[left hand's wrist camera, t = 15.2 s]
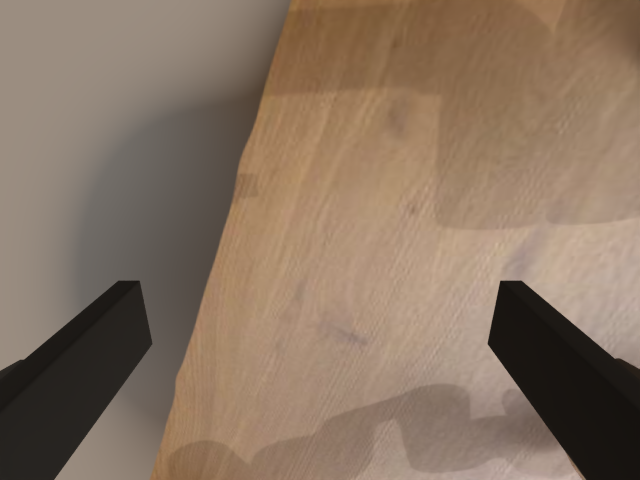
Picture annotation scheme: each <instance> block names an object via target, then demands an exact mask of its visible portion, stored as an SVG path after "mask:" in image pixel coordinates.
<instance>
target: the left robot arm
mask: <svg viewBox="0 0 640 480" xmlns="http://www.w3.org/2000/svg"><path fill="white" fill-rule="evenodd" d="M151 345H152V339H151V335H150V330H149V325H148V320H147V315H146V310H145V305H144V300H143V295H142V290H141V285H140V281H118V282H116V283H115V284H114V285H113V286H112V287H110V288H109V289H108V290H107V291H106V292H105V293H103V294H102V295H101V296H100V297H99V298H97V299H96V300H95V301H94V302H93V303H91V304H90V305H89V306H88V307H87V308H85V309H84V310H83V311H82V312H81V313H79V314H78V315H77V316H76V317H75V318H73V319H72V320H71V321H70V322H69V323H67V324H66V325H65V326H64V327H63V328H61V329H60V330H59V331H58V332H57V333H55V334H54V335H53V336H52V337H51V338H50V339H48V340H47V341H46V342H45V343H44V344H42V345H41V346H40V347H39V348H38V349H36V350H35V351H34V352H33V353H32V354H30V355H29V356H28V357H27V358H26V359H24V360H19V361H17V362H15V363H14V364H12V365H10V366H8V367H6V368H5V369H3V370H1V371H0V480H54V479H55V478H56V476H57V475H58V474H59V472H60V471H61V470H62V468H63V467H64V465H65V464H66V463H67V461H68V460H69V458H70V457H71V456H72V454H73V453H74V452H75V450H76V449H77V447H78V446H79V445H80V443H81V442H82V440H83V439H84V438H85V436H86V435H87V434H88V432H89V431H90V429H91V428H92V427H93V425H94V424H95V423H96V421H97V420H98V418H99V417H100V416H101V414H102V413H103V411H104V410H105V409H106V407H107V406H108V405H109V403H110V402H111V400H112V399H113V398H114V396H115V395H116V393H117V392H118V391H119V389H120V388H121V387H122V385H123V384H124V382H125V381H126V380H127V378H128V377H129V376H130V374H131V373H132V371H133V370H134V369H135V367H136V366H137V364H138V363H139V362H140V360H141V359H142V358H143V356H144V355H145V353H146V352H147V351H148V349H149V348H150V346H151ZM488 345H489V346H490V348H491V349H492V351H493V352H494V353H495V355H496V356H497V358H498V359H499V360H500V362H501V363H502V364H503V366H504V367H505V369H506V370H507V371H508V373H509V374H510V376H511V377H512V378H513V380H514V381H515V382H516V384H517V385H518V387H519V388H520V389H521V391H522V392H523V393H524V395H525V396H526V398H527V399H528V400H529V402H530V403H531V405H532V406H533V407H534V409H535V410H536V411H537V413H538V414H539V416H540V417H541V418H542V420H543V421H544V423H545V424H546V425H547V427H548V428H549V429H550V431H551V432H552V434H553V435H554V436H555V438H556V439H557V440H558V442H559V443H560V445H561V446H562V447H563V449H564V450H565V452H566V453H567V454H568V456H569V457H570V458H571V460H572V461H573V463H574V464H575V465H576V467H577V468H578V470H579V471H580V472H581V474H582V475H583V476H584V478H585V479H586V480H640V369H638V368H636V367H635V366H633V365H631V364H629V363H627V362H625V361H624V360H622V359H614V358H613V357H612V356H611V355H610V354H608V353H607V352H606V351H605V350H604V349H602V348H601V347H600V346H599V345H598V344H596V343H595V342H594V341H593V340H592V339H590V338H589V337H588V336H587V335H586V334H585V333H583V332H582V331H581V330H580V329H579V328H577V327H576V326H575V325H574V324H573V323H571V322H570V321H569V320H568V319H567V318H565V317H564V316H563V315H562V314H561V313H559V312H558V311H557V310H556V309H555V308H553V307H552V306H551V305H550V304H549V303H547V302H546V301H545V300H544V299H543V298H541V297H540V296H539V295H538V294H537V293H536V292H534V291H533V290H532V289H531V288H530V287H528V286H527V285H526V284H525V283H524V282H522V281H500V285H499V290H498V295H497V300H496V305H495V310H494V315H493V320H492V325H491V330H490V334H489V339H488Z"/></svg>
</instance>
